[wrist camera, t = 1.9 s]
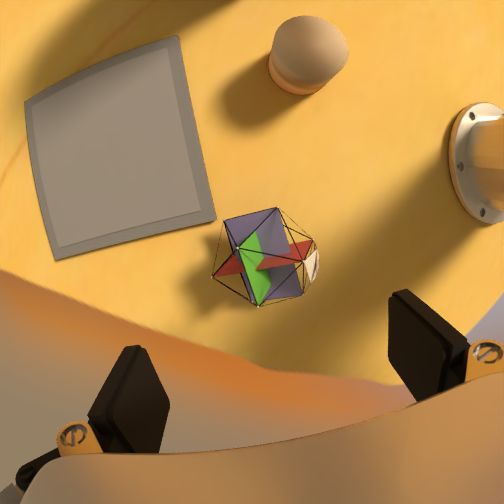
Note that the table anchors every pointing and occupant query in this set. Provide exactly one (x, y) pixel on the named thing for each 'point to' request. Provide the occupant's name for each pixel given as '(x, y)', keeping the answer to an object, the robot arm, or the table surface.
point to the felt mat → (118, 151)
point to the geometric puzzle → (266, 256)
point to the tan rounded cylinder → (306, 54)
